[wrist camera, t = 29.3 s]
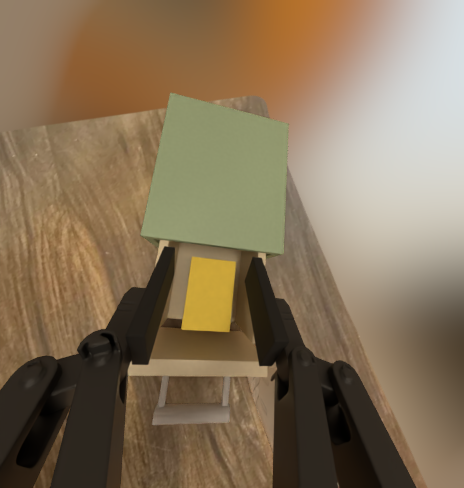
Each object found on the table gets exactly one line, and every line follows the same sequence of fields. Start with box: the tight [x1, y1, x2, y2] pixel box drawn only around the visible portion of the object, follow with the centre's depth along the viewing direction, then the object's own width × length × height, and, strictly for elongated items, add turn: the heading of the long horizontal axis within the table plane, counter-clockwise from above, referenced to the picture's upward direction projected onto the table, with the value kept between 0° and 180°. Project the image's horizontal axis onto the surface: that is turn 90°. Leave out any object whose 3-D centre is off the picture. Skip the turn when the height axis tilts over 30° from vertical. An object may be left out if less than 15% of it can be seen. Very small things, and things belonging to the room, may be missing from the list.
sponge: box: [181, 257, 236, 332], centre depth 19 cm, size 4×6×8 cm, turn 174°
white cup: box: [247, 363, 339, 486], centre depth 19 cm, size 8×8×10 cm
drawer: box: [128, 240, 268, 425], centre depth 19 cm, size 19×11×9 cm, turn 174°
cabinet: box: [141, 93, 289, 259], centre depth 22 cm, size 15×13×11 cm
